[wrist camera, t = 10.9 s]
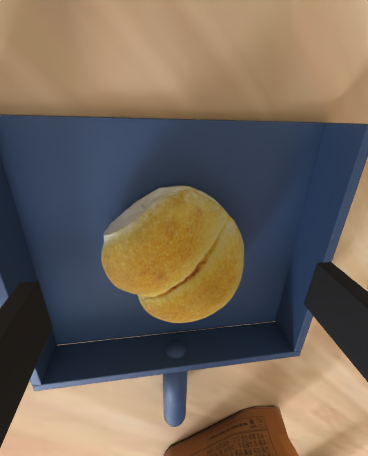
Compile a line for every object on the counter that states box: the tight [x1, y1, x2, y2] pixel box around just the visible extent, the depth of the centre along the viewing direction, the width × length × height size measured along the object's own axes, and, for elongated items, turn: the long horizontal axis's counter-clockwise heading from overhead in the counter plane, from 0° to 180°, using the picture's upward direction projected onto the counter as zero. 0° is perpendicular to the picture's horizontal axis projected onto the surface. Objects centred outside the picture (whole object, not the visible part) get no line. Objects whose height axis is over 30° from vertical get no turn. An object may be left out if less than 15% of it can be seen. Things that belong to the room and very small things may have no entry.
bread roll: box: [101, 186, 244, 323], centre depth 14 cm, size 8×9×4 cm
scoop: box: [0, 115, 368, 427], centre depth 17 cm, size 26×19×4 cm
